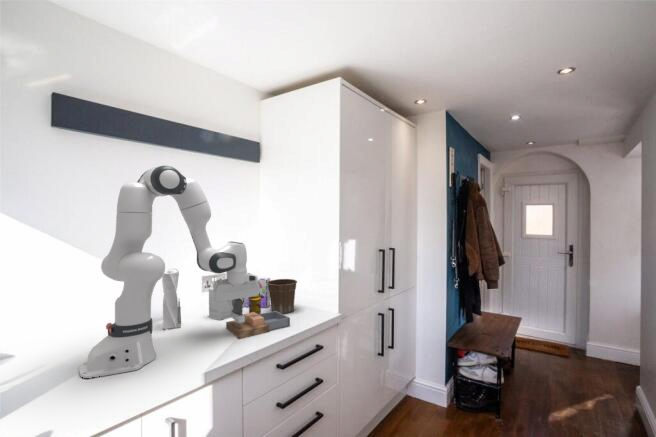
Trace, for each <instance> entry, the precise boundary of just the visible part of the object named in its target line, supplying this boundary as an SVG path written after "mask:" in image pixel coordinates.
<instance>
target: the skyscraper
mask: <svg viewBox="0 0 656 437" xmlns="http://www.w3.org/2000/svg"><path fill="white" fill-rule="evenodd" d="M175 270H176V271H175ZM179 276H180V272H179V270H178V269H177V268H175V267H173V268H172V267H171V268H169V269H168V270H165V272H164V274H163V276H162V278H161V283H162V292H163V298H162V299H163V300H162V320H163V322H162V324H163V330H164V329H168V330H174V329H181V327H182V314H181V309H182V308H181V302H180V300H179V298H178V293H177V289H178V284H179Z"/></svg>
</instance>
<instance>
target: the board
mask: <svg viewBox="0 0 656 437" xmlns="http://www.w3.org/2000/svg"><path fill="white" fill-rule="evenodd" d="M225 323H226V324H225V329H226V330H228V331H229V332H230V333H231V334H233V335H234V336H235V338H237V339H238V340H240V339H245V338H250V337H254V336H258V335H262V333H263V334H266V332H267V333H270V331H269V325H268V324H267V323H265V322H264V324H263V325H259V326H254V327H253V326H252V325H250V324H249V323H247V322H246V321H245V322H242V323H238V322H237V321H236V320H234V319H233V320H230V321H229V320H228V321H226V322H225Z"/></svg>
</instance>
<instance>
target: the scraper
mask: <svg viewBox="0 0 656 437" xmlns="http://www.w3.org/2000/svg"><path fill="white" fill-rule="evenodd" d="M242 301H243V300H242V298H241V299H235V300H232V305H234V306H235V307H234V308H235V309H234V310H230V317H229V318H232V319H233V321H234V320H236V321H237V322H238V323H242V322H245V315H244V314H245V313H244V312H243V309H244V308H242Z"/></svg>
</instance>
